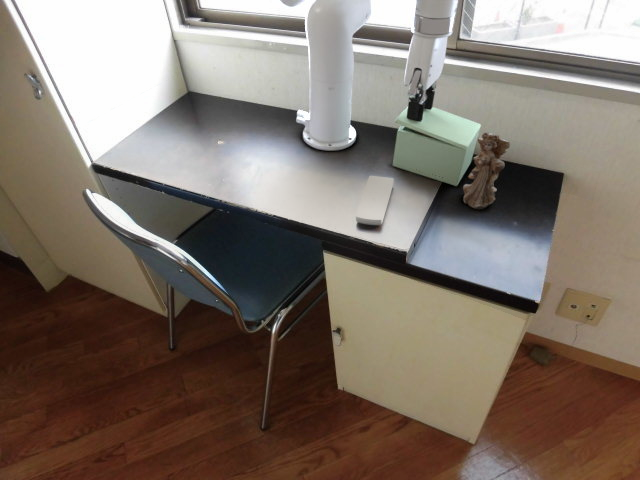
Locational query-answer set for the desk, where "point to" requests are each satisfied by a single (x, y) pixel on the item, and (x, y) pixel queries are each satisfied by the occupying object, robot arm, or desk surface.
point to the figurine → (485, 171)
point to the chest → (431, 156)
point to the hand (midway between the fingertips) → (419, 112)
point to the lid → (442, 126)
